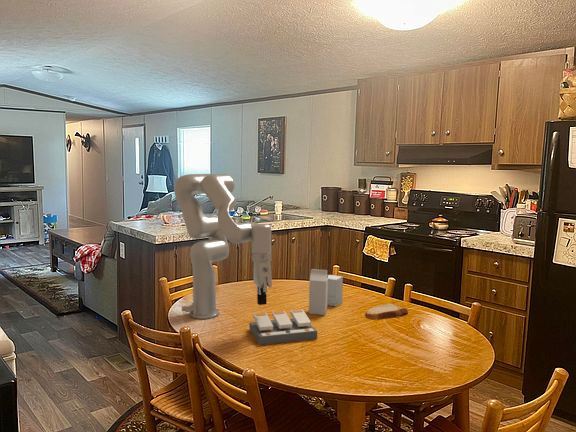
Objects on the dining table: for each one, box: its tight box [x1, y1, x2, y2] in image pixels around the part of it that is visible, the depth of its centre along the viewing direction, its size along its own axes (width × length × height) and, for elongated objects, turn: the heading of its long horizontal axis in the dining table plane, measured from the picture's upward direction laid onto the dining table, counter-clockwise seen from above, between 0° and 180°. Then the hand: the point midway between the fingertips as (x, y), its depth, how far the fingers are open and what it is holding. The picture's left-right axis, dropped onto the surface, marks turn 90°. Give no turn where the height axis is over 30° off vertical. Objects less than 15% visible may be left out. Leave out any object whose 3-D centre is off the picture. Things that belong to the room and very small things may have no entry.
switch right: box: [289, 308, 312, 327], centre depth 188 cm, size 5×10×2 cm, turn 18°
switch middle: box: [271, 310, 292, 329], centre depth 186 cm, size 5×10×2 cm, turn 18°
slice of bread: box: [364, 303, 409, 321], centre depth 211 cm, size 18×18×4 cm
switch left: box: [253, 311, 273, 331], centre depth 183 cm, size 5×10×2 cm, turn 18°
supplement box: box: [327, 274, 344, 307], centre depth 225 cm, size 7×7×13 cm
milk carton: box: [308, 268, 329, 316], centre depth 211 cm, size 7×7×19 cm
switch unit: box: [248, 317, 318, 346], centre depth 185 cm, size 22×16×4 cm
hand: (261, 304), depth 186 cm, fingers closed
